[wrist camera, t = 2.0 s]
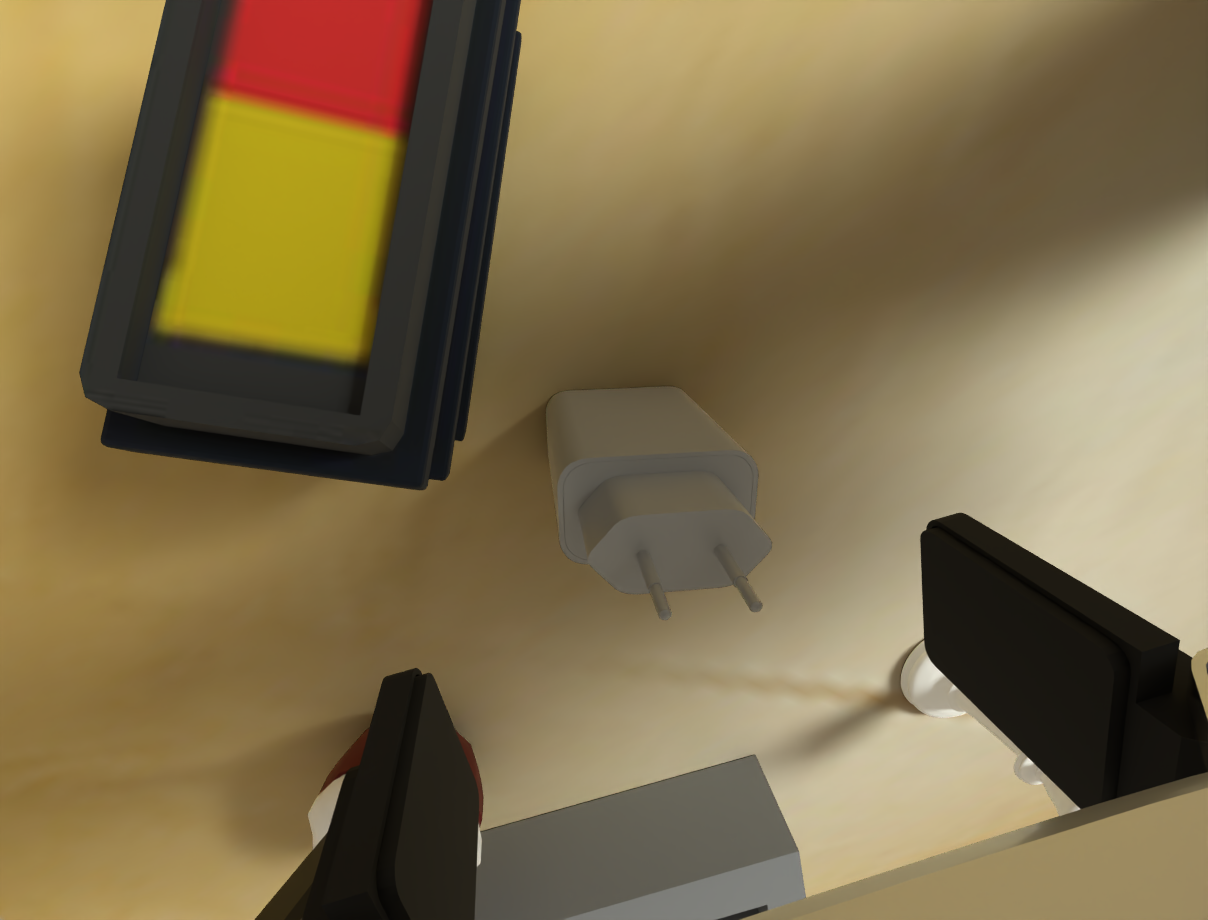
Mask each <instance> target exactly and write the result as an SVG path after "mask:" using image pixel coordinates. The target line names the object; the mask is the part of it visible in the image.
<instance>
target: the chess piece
mask: <svg viewBox="0 0 1208 920" xmlns="http://www.w3.org/2000/svg"><path fill="white" fill-rule="evenodd" d="M901 688H902V691H903V694H904V696H905V697H906V699H907V700H908V701H909V702H910V703H912V704H913V705H914V706H915V707H916V708H917V709H918V710H919V711H921V712H922V713H924V714H926V715H929V716H932V717H937V718H950V717H956V716H960V715H963V714H966V713H968V714H969V715H971V716H972V717H973V718H974V719H975V720H977V721H978V722H979V723H980V724H981V725H983V726H984V727H985V728H986V729H987V730H989V731H990V732H991V733H992V734H993V735H994V736H996V737H997V738H998V739H999V740H1000V741H1002V742H1003V743H1004V744H1005V745H1006V746H1007V747H1008V748H1009V749H1010V750H1012V751H1013V752H1014V753H1015V754H1016V755H1017V758H1016V760H1015V762H1014V773H1015V775H1016V776H1017V777H1018V778H1019V779H1021V780H1023V781H1024V782H1026V783H1028V784H1032V785H1037V784H1042V783H1043V785H1044V787H1045V789H1046V791H1047V794H1048V795H1049V797H1050V798H1051V800H1052V802H1053V804H1054V805H1055V807H1056V809H1057V812H1058V815H1059V816H1062V815H1065V814H1068V813H1071V812H1074V811H1077V810H1080V808H1079V807H1078V806H1077V805H1076V804H1075V803H1074V802H1073V801H1072V800H1071V799H1070V798H1069V797H1068V796H1067V795H1066V794H1065V793H1063V792H1062V791H1061V790H1060V789H1059V788H1058V787H1057V786H1056V785H1055V784H1054V783H1053V782H1052V781H1051V780H1050V779H1049V778H1048V777H1047V776H1046V775H1045V774H1044V773H1043V772H1042V771H1041V770H1040V769H1039V768H1038V767H1037V766H1036V765H1035V764H1034V763H1033V762H1032V761H1031V760H1030V759H1029V758H1028V757H1027V756H1026V755H1025V754H1024V753H1023V752H1022V751H1021V750H1020V749H1019V748H1018V747H1017V746H1016V745H1015V744H1014V743H1013V742H1012V741H1011V740H1010V739H1009V738H1008V737H1007V736H1005V735H1004V734H1003V733H1002V732H1001V731H1000V730H999V729H998V728H997V727H996V726H995V725H994V724H993V723H992V722H991V721H990V720H989V719H988V718H987V717H986V716H985V715H984V714H983V713H982V712H981V711H980V710H979V709H978V708H977V707H976V706H975V705H974V704H973V703H972V702H971V701H970V700H969V699H968V698H967V697H966V696H965V695H964V694H963V693H962V692H961V691H960V690H959V689H958V688H957V687H956V686H955V685H954V684H953V683H952V682H951V681H950V680H948V679H947V678H946V677H945V676H944V675H943V674H942V673H941V672H940V671H939V670H938V669H937V668H936V667H935V666H934V665H933V663H932V662H931V661H930V659H929V657H928V655H927V653H926V650H925V645H924V641H922V642H921V643H920V644H919V645H918V646H917V647H916V648H915V649H914V650H913V651H912V652H911V654H910V655H909V657H908V658H907V660H906V662H905V664H904V666H903V669H902V673H901Z"/></svg>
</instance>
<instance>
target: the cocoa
mask: <svg viewBox="0 0 1208 920" xmlns="http://www.w3.org/2000/svg"><path fill="white" fill-rule="evenodd" d="M369 729H370V728H369ZM369 729H367V730H366V731H365V732H364V733H363V734H362V735H361V736H360V737H359V739H358V740H357V741H356V742H355V743H354V744H353V745H352V746H351V748H350V749H349V750H348V751H347V752H346V753H345V754H344V756H343V757H342V758H341V759H340V760H339V761H338V763H337V764H336V765H335V767H334V768H333V770H332V771H331V772H330V774H329V775H328V777H327V779H326V781H325V783H324V785H323V787H322V789H321V791H320V793H319V795H318V796H317V797H316V799H315V801H314V803H313V805H312V807H311V809H310V811H309V813H308V818H309V822H310V826H311V831H312V835H313V850H312V851H311V853H310V854H309V855H308V856H307V857H306V859H305V860H304V861H303V862H302V863H301V865H300V866H299V867H298V868H297V869H296V871H295V872H294V873H293V874H292V875H291V877H290V878H289V879H288V880H287V881H286V883H285V884H284V885H283V886H282V887H281V889H280V890H279V891H278V892H277V893H276V895H275V896H274V897H273V898H272V899H271V901H270V902H269V903H268V904H267V905H266V907H265V908H264V909H263V910H262V911H261V913H260V914H259V915H258V916H257V917H256V919H255V920H302V917H303V914H304V910H305V907H306V904H307V900H308V897H309V894H310V890H311V887H312V883H313V880H314V877H315V873H316V870H317V866H318V863H319V860H320V856H321V853H322V850H323V846H324V843H325V839H326V836H327V833H328V829H329V826H330V822H331V819H332V816H333V812H334V809H335V806H336V802H337V799H338V795H339V792H340V789H341V785H342V782H343V779H344V777H345V774H346V772H347V771H348V770H349V769H350V768H351V767H355V766H358V765H360V762H361V758H362V755H363V751H364V747H365V744H366V740H367V736H368V733H369ZM455 731H456V730H455ZM456 733H457V736H458V738H459V740H460V743H461V745H462V748H463V750H464V753H465V755H466V758H467V760H468V763H469V765H470V767H471V770H472V772H473V775H474V777H475V780H476V783H477V787H478V792H479V824H478V849H477V866H478V865H479V864H480V863H481V845H482V838H481V833H480V825H481V822H482V814H483V790H482V783H481V778H480V774H479V770H478V766H477V763H476V759H475V756H474V753H473V750H472V747H471V744H470V743H468V742H467V741H466V740H465V739H464V738H463V737H462V736H461V735H460V734H459V733H458V732H457V731H456Z"/></svg>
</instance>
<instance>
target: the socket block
mask: <svg viewBox="0 0 1208 920" xmlns="http://www.w3.org/2000/svg"><path fill="white" fill-rule="evenodd" d="M480 833H481V838H482V845H481V863H480V864H479V865H478V866H477V873H476V898H475V920H740V919H743V918H746V917H749V916H752V915H755V914H758V913H761V912H764V911H767V910H771V909H774V908H777V907H780V906H783V905H786V904H789V903H792V902H795V901H798V900H801V899H804V898H806V895H805V888H804V882H803V875H802V868H801V861H800V855H799V850H798V848H797V846H796V844H795V841H794V839H793V837H792V835H791V832H790V830H789V828H788V826H787V824H786V821H785V819H784V817H783V815H782V813H781V810H780V808H779V806H778V804H777V802H776V799H775V797H774V795H773V793H772V790H771V788H770V786H769V784H768V782H767V779H766V777H765V775H764V773H763V771H762V768H761V766H760V764H759V762H758V760H757V757H756V755H753V756H749V757H746V758H742V759H739V760H735V761H731V762H728V763H724V764H721V765H717V766H714V767H710V768H707V769H703V770H700V771H696V772H692V773H689V774H685V775H682V776H678V777H675V778H671V779H668V780H664V781H660V782H657V783H653V784H650V785H646V786H643V787H639V788H636V789H632V790H628V791H625V792H621V793H618V794H614V795H611V796H607V797H604V798H600V799H597V800H593V801H589V802H586V803H582V804H579V805H575V806H572V807H568V808H565V809H561V810H557V811H554V812H550V813H547V814H543V815H540V816H536V817H533V818H529V819H525V820H522V821H518V822H515V823H511V824H508V825H504V826H501V827H497V828H493V829H490V830H486V831H483V832H480Z"/></svg>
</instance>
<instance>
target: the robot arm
mask: <svg viewBox="0 0 1208 920" xmlns="http://www.w3.org/2000/svg"><path fill="white" fill-rule="evenodd" d="M920 542H921V568H922V595H923V621H924V645H925V650H926V653H927V655H928V657H929V659H930V661H931V662H932V663H933V665H934V666H935V667H936V668H937V669H938V670H939V671H940V672H941V673H942V674H943V675H944V676H945V677H946V678H947V679H948V680H950V681H951V682H952V683H953V684H954V685H955V686H956V687H957V688H958V689H959V690H960V691H961V692H962V693H963V694H964V695H965V696H966V697H967V698H968V699H969V700H970V701H971V702H972V703H973V704H974V705H975V706H976V707H977V708H978V709H979V710H980V711H981V712H982V713H983V714H984V715H985V716H986V717H987V718H988V719H989V720H990V721H991V722H992V723H993V724H994V725H995V726H996V727H997V728H998V729H999V730H1000V731H1001V732H1002V733H1003V734H1004V735H1005V736H1007V737H1008V738H1009V739H1010V740H1011V741H1012V742H1013V743H1014V744H1015V745H1016V746H1017V747H1018V748H1019V749H1020V750H1021V751H1022V752H1023V753H1024V754H1025V755H1026V756H1027V757H1028V758H1029V759H1030V760H1031V761H1032V762H1033V763H1034V764H1035V765H1036V766H1037V767H1038V768H1039V769H1040V770H1041V771H1042V772H1043V773H1044V774H1045V775H1046V776H1047V777H1048V778H1049V779H1050V780H1051V781H1052V782H1053V783H1054V784H1055V785H1056V786H1057V787H1058V788H1059V789H1060V790H1061V791H1062V792H1063V793H1065V794H1066V795H1067V796H1068V797H1069V798H1070V799H1071V800H1072V801H1073V802H1074V803H1075V804H1076V805H1077V806H1078V807H1079V808H1080V810H1077V811H1074V812H1071V813H1068V814H1065V815H1062V816H1058V817H1055V818H1052V819H1049V820H1046V821H1043V822H1040V823H1036V824H1033V825H1030V826H1027V827H1024V828H1021V829H1018V830H1015V831H1011V832H1008V833H1005V834H1002V835H999V836H996V837H993V838H989V839H986V840H983V841H980V842H977V843H974V844H971V845H967V846H964V847H961V848H958V849H955V850H952V851H949V852H946V853H942V854H939V855H936V856H933V857H930V858H927V859H924V860H921V861H918V862H915V863H912V864H909V865H906V866H902V867H899V868H896V869H893V870H890V871H887V872H884V873H881V874H878V875H875V876H872V877H869V878H865V879H862V880H859V881H856V882H853V883H850V884H847V885H844V886H841V887H838V888H835V889H832V890H829V891H826V892H823V893H820V894H816V895H813V896H810V897H807V898H804V899H801V900H798V901H795V902H792V903H789V904H786V905H783V906H780V907H777V908H774V909H771V910H767V911H764V912H761V913H758V914H755V915H752V916H749V917H746V918H743V919H740V920H1208V648H1206V649H1204V650H1201V651H1199V652H1197V654H1196V655H1195V656H1194V657H1193V658H1192V657H1190V656H1189V655H1187V654H1185V653H1184V652H1182V651H1180V650H1179V643H1180V640H1179V639H1177V638H1175V637H1174V636H1172V635H1170V634H1168V633H1167V632H1165V631H1163V630H1162V629H1160V628H1158V627H1157V626H1155V625H1153V624H1151V623H1150V622H1148V621H1146V620H1145V619H1143V618H1141V617H1140V616H1138V615H1136V614H1134V613H1133V612H1131V611H1129V610H1128V609H1126V608H1124V607H1123V606H1121V605H1119V604H1118V603H1116V602H1114V601H1112V600H1111V599H1109V598H1107V597H1106V596H1104V595H1102V594H1101V593H1099V592H1097V591H1095V590H1094V589H1092V588H1090V587H1089V586H1087V585H1085V584H1084V583H1082V582H1080V581H1078V580H1077V579H1075V578H1073V577H1072V576H1070V575H1068V574H1067V573H1065V572H1063V571H1062V570H1060V569H1058V568H1056V567H1055V566H1053V565H1051V564H1050V563H1048V562H1046V561H1045V560H1043V559H1041V558H1039V557H1038V556H1036V555H1034V554H1033V553H1031V552H1029V551H1028V550H1026V549H1024V548H1022V547H1021V546H1019V545H1017V544H1016V543H1014V542H1012V541H1011V540H1009V539H1007V538H1005V537H1004V536H1002V535H1000V534H999V533H997V532H995V531H994V530H992V529H990V528H989V527H987V526H985V525H983V524H982V523H980V522H978V521H977V520H975V519H973V518H972V517H970V516H968V515H966V514H964V513H956V514H953V515H949V516H946V517H942V518H939V519H935V520H932V521H930V522H929V523H928V525H927V529H926V531H923V532H922V534H921V538H920ZM478 824H479V792H478V787H477V783H476V780H475V777H474V775H473V772H472V770H471V767H470V765H469V763H468V760H467V758H466V755H465V753H464V750H463V748H462V745H461V743H460V740H459V738H458V736H457V733H456V731H455V728H454V726H453V723H452V721H451V718H450V716H449V714H448V711H447V709H446V706H445V704H444V701H443V699H442V696H441V694H440V691H439V689H438V687H437V684H436V682H435V679H434V677H433V675H432V674H431V673H427V674H423V675H422V673H421V671H420V670H419V669H418V668H414V669H411V670H407V671H404V672H400V673H397V674H393V675H390V676H386V677H385V678H384V679H383V682H382V685H381V689H380V692H379V696H378V700H377V703H376V707H375V711H374V714H373V718H372V722H371V725H370V729H369V733H368V736H367V740H366V744H365V747H364V751H363V755H362V758H361V762H360V765H358V766H355V767H351V768H350V769H349V770H348V771H347V772H346V774H345V777H344V779H343V782H342V785H341V789H340V792H339V795H338V799H337V802H336V806H335V809H334V812H333V816H332V819H331V822H330V826H329V829H328V833H327V836H326V839H325V843H324V846H323V850H322V853H321V856H320V860H319V863H318V866H317V870H316V873H315V877H314V880H313V883H312V887H311V890H310V894H309V897H308V900H307V904H306V907H305V910H304V914H303V917H302V920H475V898H476V873H477V849H478Z"/></svg>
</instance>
